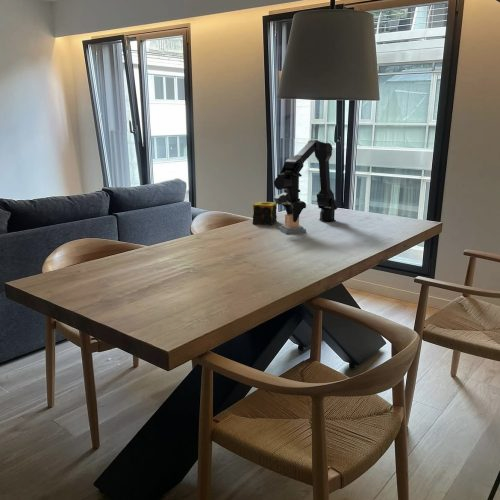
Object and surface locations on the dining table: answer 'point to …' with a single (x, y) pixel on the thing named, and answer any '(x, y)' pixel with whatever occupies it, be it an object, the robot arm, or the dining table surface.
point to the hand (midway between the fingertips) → (292, 220)
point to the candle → (264, 213)
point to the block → (291, 221)
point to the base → (291, 229)
